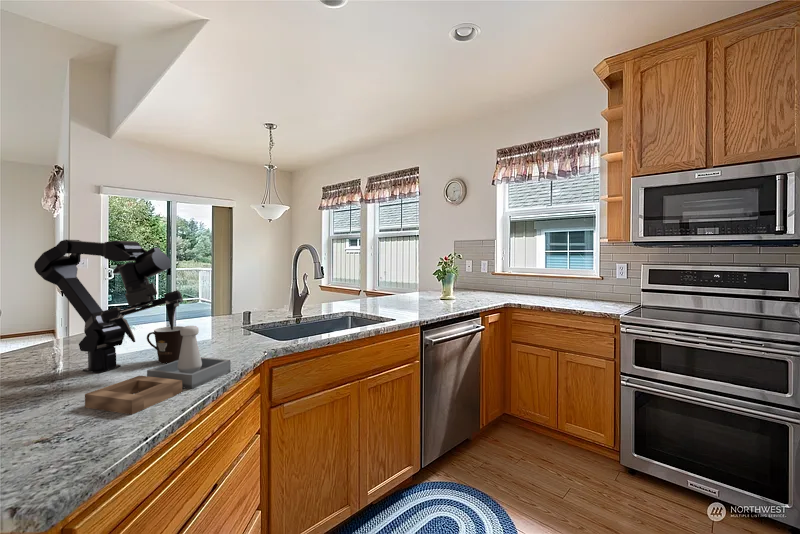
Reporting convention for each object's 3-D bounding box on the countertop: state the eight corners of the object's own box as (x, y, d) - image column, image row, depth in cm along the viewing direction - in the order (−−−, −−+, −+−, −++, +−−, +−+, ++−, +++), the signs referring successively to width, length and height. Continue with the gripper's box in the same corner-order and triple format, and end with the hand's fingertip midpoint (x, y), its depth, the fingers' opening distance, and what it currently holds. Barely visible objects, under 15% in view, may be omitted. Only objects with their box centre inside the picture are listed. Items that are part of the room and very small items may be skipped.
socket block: (85, 407, 82) (84, 394, 82) (139, 387, 95) (139, 375, 95) (132, 414, 79) (131, 400, 79) (182, 392, 92) (182, 380, 91)
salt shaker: (199, 376, 100) (198, 327, 100) (175, 378, 99) (174, 329, 98) (203, 369, 106) (203, 323, 105) (180, 371, 104) (180, 324, 104)
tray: (147, 383, 97) (146, 370, 97) (189, 367, 111) (189, 356, 111) (192, 389, 94) (191, 375, 94) (230, 372, 107) (230, 359, 107)
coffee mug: (192, 359, 120) (191, 328, 119) (163, 366, 112) (162, 333, 112) (173, 354, 126) (172, 324, 125) (144, 360, 118) (143, 328, 118)
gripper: (86, 288, 94) (105, 347, 93) (170, 267, 103) (188, 320, 102) (99, 295, 104) (116, 349, 103) (174, 275, 113) (191, 324, 111)
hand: (153, 335), depth 104 cm, fingers open, 9 cm apart
